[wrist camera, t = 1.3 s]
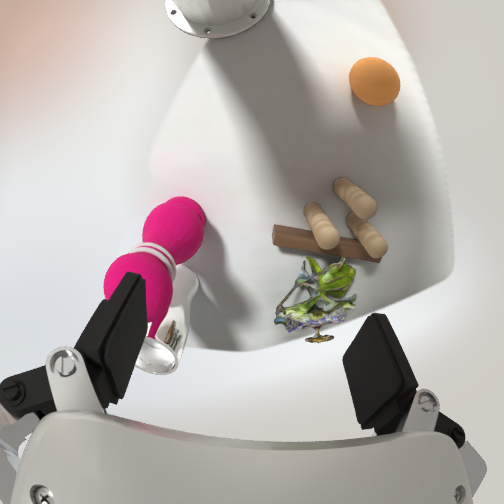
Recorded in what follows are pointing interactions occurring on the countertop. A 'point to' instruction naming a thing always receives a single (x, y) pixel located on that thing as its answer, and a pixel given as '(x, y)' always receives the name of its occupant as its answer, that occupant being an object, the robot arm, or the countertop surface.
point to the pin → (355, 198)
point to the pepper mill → (161, 252)
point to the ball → (374, 81)
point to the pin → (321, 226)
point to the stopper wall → (308, 242)
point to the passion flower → (307, 311)
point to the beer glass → (169, 328)
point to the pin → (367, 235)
